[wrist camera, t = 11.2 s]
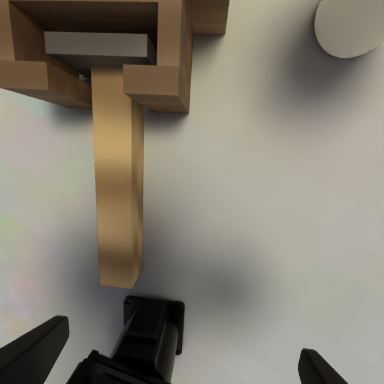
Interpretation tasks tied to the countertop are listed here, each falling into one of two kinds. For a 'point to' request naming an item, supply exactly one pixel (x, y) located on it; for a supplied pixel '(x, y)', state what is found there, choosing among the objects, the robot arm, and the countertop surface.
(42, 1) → the walnut box
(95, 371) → the robot arm
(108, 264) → the hammer
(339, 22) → the white cylinder
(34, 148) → the countertop surface
